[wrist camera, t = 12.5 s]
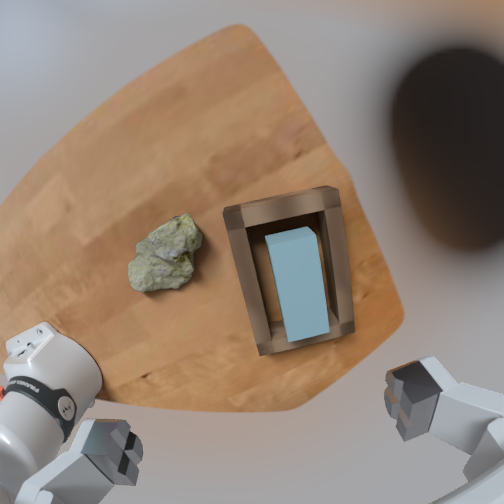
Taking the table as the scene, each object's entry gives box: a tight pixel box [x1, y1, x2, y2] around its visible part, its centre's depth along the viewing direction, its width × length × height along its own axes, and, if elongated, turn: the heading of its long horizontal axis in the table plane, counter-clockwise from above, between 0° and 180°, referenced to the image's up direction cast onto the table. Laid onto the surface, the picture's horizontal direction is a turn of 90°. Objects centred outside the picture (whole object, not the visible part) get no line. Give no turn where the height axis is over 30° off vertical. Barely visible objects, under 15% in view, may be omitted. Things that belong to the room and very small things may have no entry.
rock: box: [128, 213, 203, 292], centre depth 35 cm, size 11×6×10 cm
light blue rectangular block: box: [265, 226, 330, 342], centre depth 34 cm, size 12×5×4 cm, turn 13°
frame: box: [223, 186, 355, 356], centre depth 37 cm, size 13×19×4 cm
